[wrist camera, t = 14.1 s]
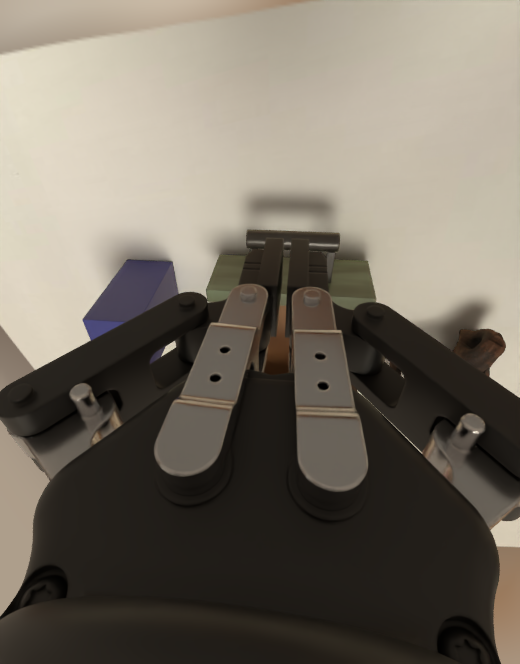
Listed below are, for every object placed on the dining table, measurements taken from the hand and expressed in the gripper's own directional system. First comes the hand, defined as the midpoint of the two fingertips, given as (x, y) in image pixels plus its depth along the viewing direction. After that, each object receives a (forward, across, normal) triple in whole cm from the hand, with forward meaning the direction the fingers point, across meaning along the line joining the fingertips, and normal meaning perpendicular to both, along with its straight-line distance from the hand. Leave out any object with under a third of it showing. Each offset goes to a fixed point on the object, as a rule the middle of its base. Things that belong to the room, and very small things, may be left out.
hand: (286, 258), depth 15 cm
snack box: (+17, +14, +14) cm, 26 cm away
